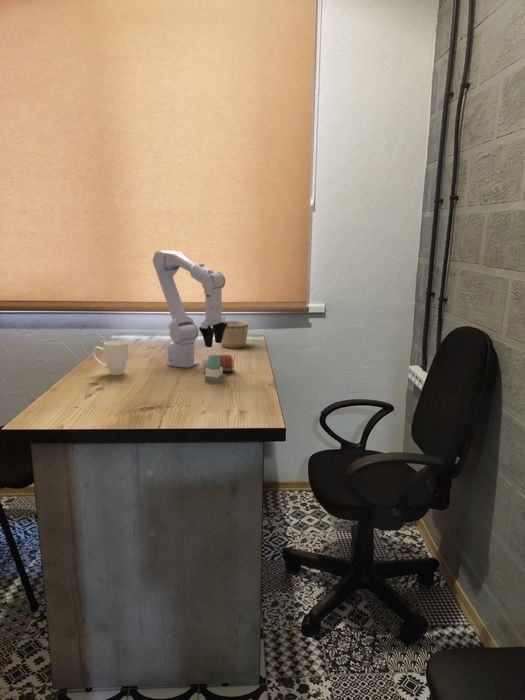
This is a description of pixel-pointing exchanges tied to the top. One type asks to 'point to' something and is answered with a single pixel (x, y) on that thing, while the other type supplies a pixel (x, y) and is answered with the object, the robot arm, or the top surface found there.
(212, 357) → the teal cylinder
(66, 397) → the top surface
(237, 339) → the planter
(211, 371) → the tower top block
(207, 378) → the tower base block
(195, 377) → the top surface
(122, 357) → the mug
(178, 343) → the robot arm
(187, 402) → the top surface
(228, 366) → the pill bottle
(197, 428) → the top surface
